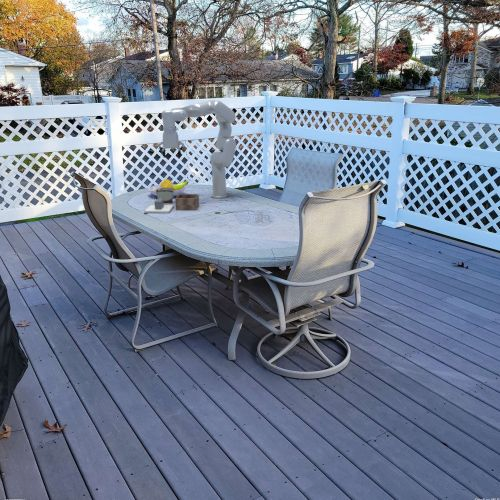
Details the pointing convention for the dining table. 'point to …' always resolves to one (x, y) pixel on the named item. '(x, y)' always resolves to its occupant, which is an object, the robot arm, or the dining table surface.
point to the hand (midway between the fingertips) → (172, 157)
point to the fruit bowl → (168, 184)
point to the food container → (165, 194)
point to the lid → (159, 207)
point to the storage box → (187, 201)
